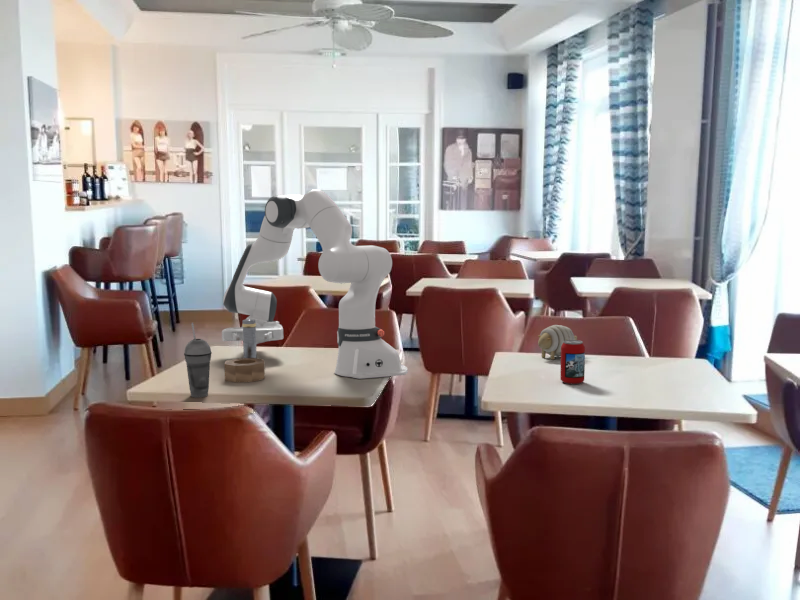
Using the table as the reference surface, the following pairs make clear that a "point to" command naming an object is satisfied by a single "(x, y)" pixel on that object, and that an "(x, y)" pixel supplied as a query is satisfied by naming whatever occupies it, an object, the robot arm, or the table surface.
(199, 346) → the beverage cup
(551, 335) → the toy sheep
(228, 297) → the robot arm
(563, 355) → the beverage can
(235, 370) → the wooden octagonal ring
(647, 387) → the table surface
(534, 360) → the table surface
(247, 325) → the gold-banded metal cylinder
